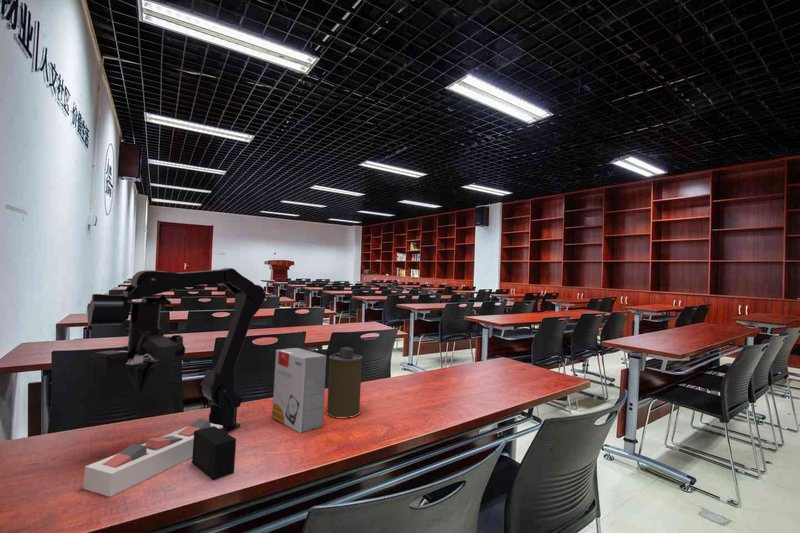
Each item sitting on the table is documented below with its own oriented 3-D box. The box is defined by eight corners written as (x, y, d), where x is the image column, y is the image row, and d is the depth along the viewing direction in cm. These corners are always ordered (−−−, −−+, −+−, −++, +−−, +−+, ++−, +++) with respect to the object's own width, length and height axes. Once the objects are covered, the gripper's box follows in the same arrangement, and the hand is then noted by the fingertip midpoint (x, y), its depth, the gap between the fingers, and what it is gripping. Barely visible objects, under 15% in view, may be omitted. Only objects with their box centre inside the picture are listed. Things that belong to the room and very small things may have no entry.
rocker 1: (135, 449, 76) (134, 443, 75) (146, 452, 75) (145, 445, 74) (104, 470, 70) (102, 464, 70) (116, 473, 69) (114, 467, 69)
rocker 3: (200, 424, 91) (199, 418, 91) (210, 426, 90) (209, 420, 90) (178, 439, 85) (177, 433, 85) (189, 441, 84) (188, 435, 84)
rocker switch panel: (209, 433, 96) (210, 417, 96) (231, 437, 94) (232, 421, 94) (83, 488, 69) (85, 466, 69) (109, 496, 66) (111, 473, 67)
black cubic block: (240, 471, 77) (242, 436, 78) (213, 481, 73) (215, 444, 74) (217, 455, 84) (219, 424, 84) (191, 463, 80) (194, 430, 80)
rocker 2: (169, 442, 83) (171, 436, 84) (180, 445, 82) (182, 438, 83) (145, 446, 78) (147, 438, 78) (156, 448, 77) (158, 441, 77)
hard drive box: (270, 418, 109) (274, 349, 110) (294, 412, 114) (297, 347, 116) (300, 433, 98) (304, 357, 99) (324, 427, 104) (327, 354, 105)
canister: (366, 414, 115) (369, 349, 116) (337, 421, 108) (340, 351, 110) (348, 405, 123) (350, 344, 125) (319, 411, 117) (322, 346, 118)
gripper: (129, 329, 76) (122, 408, 75) (204, 323, 93) (199, 386, 92) (91, 326, 79) (84, 401, 78) (170, 320, 97) (165, 381, 96)
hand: (139, 391), depth 86 cm, fingers closed
